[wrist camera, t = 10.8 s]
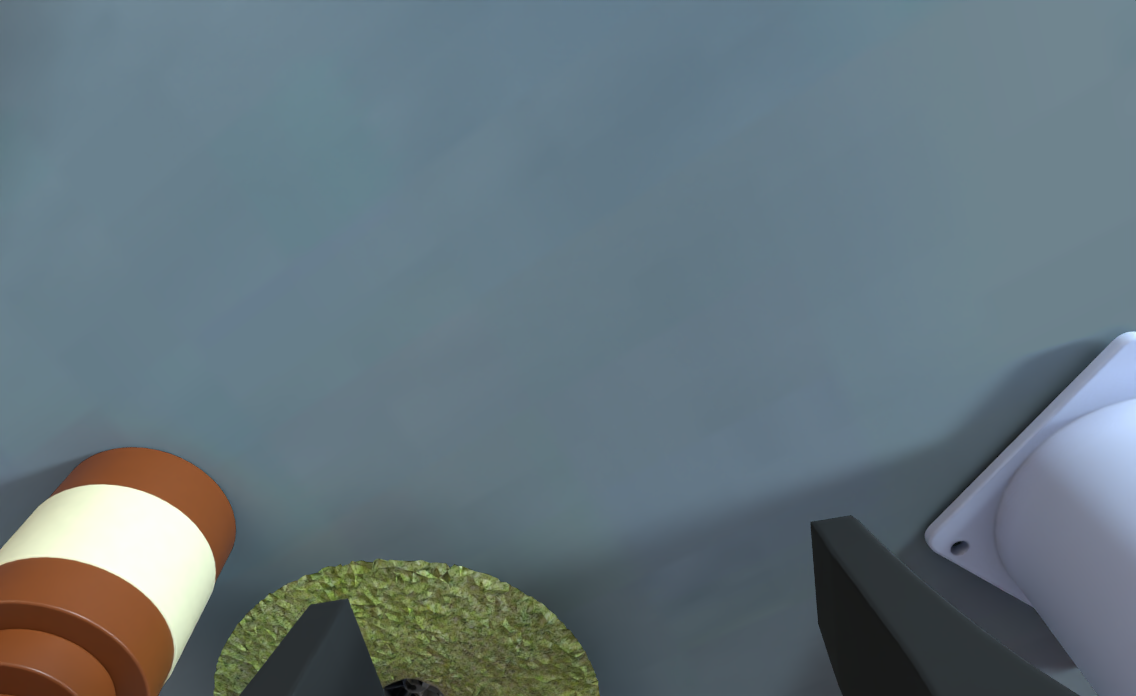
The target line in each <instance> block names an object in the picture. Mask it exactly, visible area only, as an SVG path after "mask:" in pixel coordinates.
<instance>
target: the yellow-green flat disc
mask: <svg viewBox="0 0 1136 696" xmlns="http://www.w3.org/2000/svg"><path fill="white" fill-rule="evenodd" d="M347 598H348V600H349V603H350V605H351V608H352V610H353V613H354V615H355V618H356V621H357V623H358V626H359V628H360V631H361V633H362V636H363V639H364V641H365V644H366V646H367V649H368V651H369V654H370V657H371V659H372V662H373V664H374V667H375V670H376V672H377V675H378V677H379V680H380V682H381V685H382V688H383V690H384V696H600V695H599V687H598V680H597V679H596V674H595V673H594V669H593V667H592V665H591V662H590V661H589V660H588V657H587V655H586V652H585V651H584V649H583V648H582V647H581V645H580V643H578V640H577V639H576V638H575V637H574V635H573V634H572V632H571V631H570V630H568V629H566V627H565V625H564V623H563V622H561V621H560V620H559V619H557V616H556V615H555V614H553V613H552V612H551V611H550V610H549V609H548V608H547V607H546V606H545V605H543V604H542V603H540V602H538V601H536V600H535V599H534V598H533V597H530V596H527V595H525V594H524V593H523V592H521V591H520V590H519V589H518V588H515V587H512V586H511V585H510V584H508V583H506V582H500V581H499V579H498V578H495V577H493V576H491V575H489V574H484V573H480V572H475V571H472V570H470V569H468V568H465V567H463V566H457V565H455V564H454V565H453V566H452V567H451V568H449V566H448V565H447V564H446V563H428V562H425V561H423V560H419V561H397V560H389V561H386V560H382V559H376V560H375V561H374V562H365V561H357V562H354V561H351V563H350V564H348V565H345V566H342V565H341V564H340V565H338V566H336V567H329V566H328V567H326V568H323V569H321V570H320V571H319V572H318V573H315V574H311V575H305V576H303V577H301V578H300V579H299V580H298V581H294V582H291V583H288V584H286V585H285V586H283V587H281V588H280V589H278V590H277V591H275V592H274V593H273V594H271V593H269V594H268V596H267V597H266V599H264V600H261V601H260V602H259V603H258V604H257V605H256V606H255V607H254V608H253V609H252V610H250V611H249V612H248V613H247V614H246V615H245V617H244V618H243V619H242V620H241V622H240V623H238V624H237V626H236V628H235V629H234V631H233V632H232V634H231V636H230V637H229V639H228V640H227V642H226V644H225V646H224V648H223V650H222V652H221V655H220V657H219V659H218V664H217V665H216V672H215V675H214V680H215V683H214V684H215V689H214V696H239V695H240V694H241V692H242V691H243V690H244V689H245V687H246V686H247V685H248V684H249V682H250V681H251V680H252V679H253V677H254V676H255V675H256V674H257V672H258V671H259V670H260V668H261V667H262V666H263V665H264V663H265V662H266V661H267V659H268V658H269V657H270V655H271V654H272V653H273V652H274V650H275V649H276V648H277V646H278V645H279V644H280V642H281V641H282V640H283V639H284V637H285V636H286V635H287V633H288V632H289V631H290V629H291V628H292V627H293V626H294V624H295V623H296V622H297V620H298V619H299V618H300V617H301V615H302V614H303V613H304V612H305V610H306V609H307V608H308V607H309V605H311V604H317V603H323V602H329V601H335V600H341V599H347Z"/></svg>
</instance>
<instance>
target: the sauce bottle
mask: <svg viewBox="0 0 1136 696" xmlns="http://www.w3.org/2000/svg"><path fill="white" fill-rule="evenodd" d="M235 534H236V525H235V518H234V514H233V510H232V508H231V505H230V503H229V501H228V499H227V498H226V496H225V494H224V493H223V491H222V490H221V489H220V487H219V486H218V485H217V484H216V483H215V482H214V481H213V480H212V479H211V478H210V477H209V476H208V475H207V474H206V473H204V472H203V471H202V470H201V469H199V468H198V467H196V466H195V465H193V464H191V463H189V462H188V461H186V460H184V459H182V458H180V457H177V456H175V455H172V454H169V453H166V452H162V451H159V450H154V449H148V448H137V447H128V448H118V449H111V450H108V451H104V452H101V453H98V454H96V455H94V456H91V457H89V458H88V459H86V460H85V461H83V462H82V463H80V464H79V465H78V466H77V467H76V468H75V469H74V470H73V471H72V472H71V473H70V474H69V475H68V477H67V478H66V479H65V480H64V481H63V482H62V483H61V485H60V486H59V487H58V488H57V489H56V490H55V491H54V492H53V494H52V495H51V496H50V497H49V498H48V499H47V500H46V501H44V502H43V503H42V504H41V505H40V506H39V507H38V508H37V509H36V510H35V511H34V512H33V513H32V514H31V515H30V517H29V518H28V519H27V520H26V521H25V522H24V523H23V525H22V526H21V527H20V528H19V529H18V530H17V531H16V532H15V534H14V535H13V536H12V537H11V538H10V539H9V540H8V542H7V543H6V544H5V545H4V546H3V547H2V548H1V549H0V696H158V695H159V693H160V691H161V689H162V687H163V685H164V684H165V683H166V681H167V680H168V678H169V677H170V676H171V674H172V672H173V670H174V668H175V666H176V664H177V662H178V660H179V658H180V656H181V654H182V652H183V650H184V648H185V646H186V644H187V642H188V640H189V638H190V636H191V634H192V632H193V630H194V628H195V626H196V624H197V622H198V620H199V618H200V616H201V614H202V612H203V610H204V608H205V606H206V604H207V602H208V600H209V598H210V596H211V594H212V592H213V588H214V585H215V582H216V580H217V578H218V576H219V574H220V572H221V570H222V568H223V566H224V564H225V562H226V560H227V558H228V556H229V554H230V552H231V550H232V548H233V545H234V541H235Z"/></svg>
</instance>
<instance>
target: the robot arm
mask: <svg viewBox="0 0 1136 696" xmlns="http://www.w3.org/2000/svg"><path fill="white" fill-rule="evenodd" d="M811 535H812V548H813V561H814V574H815V588H816V601H817V614H818V624H819V628H820V631H821V634H822V637H823V640H824V643H825V646H826V649H827V652H828V655H829V658H830V661H831V664H832V667H833V670H834V673H835V676H836V679H837V682H838V685H839V688H840V690H841V692H842V694H843V696H1079V695H1078V694H1076V693H1074V692H1073V691H1071V690H1070V689H1068V688H1066V687H1065V686H1063V685H1062V684H1060V683H1059V682H1057V681H1056V680H1054V679H1053V678H1051V677H1049V676H1048V675H1046V674H1045V673H1043V672H1042V671H1040V670H1039V669H1037V668H1036V667H1034V666H1033V665H1031V664H1030V663H1029V662H1027V661H1026V660H1024V659H1023V658H1021V657H1020V656H1019V655H1017V654H1016V653H1014V652H1013V651H1012V650H1010V649H1009V648H1007V647H1006V646H1005V645H1003V644H1002V643H1001V642H999V641H998V640H997V639H995V638H994V637H993V636H991V635H990V634H989V633H987V632H986V631H985V630H983V629H982V628H981V627H979V626H978V625H977V624H975V623H974V622H973V621H972V620H970V619H969V618H968V617H966V616H965V615H964V614H963V613H961V612H960V611H959V610H958V609H956V608H955V607H954V606H953V605H952V604H950V603H949V602H948V601H947V600H946V599H944V598H943V597H942V596H941V595H940V594H938V593H937V592H936V591H935V590H934V589H932V588H931V587H930V586H929V585H928V584H926V583H925V582H924V581H923V580H922V579H921V578H920V577H918V576H917V575H916V574H915V573H914V572H913V571H912V570H911V569H909V568H908V567H907V566H906V565H905V564H904V563H903V562H902V561H901V560H900V559H898V558H897V557H896V556H895V555H894V554H893V553H892V552H891V551H890V550H889V549H888V548H887V547H885V546H884V545H883V544H882V543H881V542H880V541H879V540H878V539H877V538H876V537H875V536H874V535H873V534H872V533H871V532H870V531H869V530H868V529H867V528H866V527H865V526H864V525H863V524H862V523H861V522H860V521H859V520H857V519H856V518H854V517H853V516H851V515H850V516H844V517H838V518H832V519H826V520H820V521H814V522H811ZM925 540H926V542H927V544H928V545H929V547H930V548H931V549H932V550H933V551H934V552H935V553H937V554H939V555H941V556H943V557H944V558H946V559H948V560H950V561H951V562H953V563H955V564H957V565H959V566H960V567H962V568H964V569H966V570H967V571H969V572H971V573H973V574H975V575H976V576H978V577H980V578H982V579H983V580H985V581H987V582H989V583H991V584H992V585H994V586H996V587H998V588H999V589H1001V590H1003V591H1005V592H1007V593H1008V594H1010V595H1012V596H1014V597H1015V598H1017V599H1019V600H1021V601H1023V602H1024V603H1026V604H1028V605H1030V606H1031V607H1033V608H1035V610H1036V611H1037V613H1038V614H1039V615H1040V617H1041V618H1042V619H1043V621H1044V622H1045V623H1046V625H1047V626H1048V628H1049V629H1050V630H1051V632H1052V633H1053V634H1054V636H1055V637H1056V639H1057V640H1058V641H1059V643H1060V644H1061V645H1062V647H1063V648H1064V649H1065V651H1066V652H1067V654H1068V655H1069V656H1070V658H1071V659H1072V660H1073V662H1074V663H1075V665H1076V666H1077V667H1078V669H1079V670H1080V671H1081V673H1082V674H1083V675H1084V677H1085V678H1086V680H1087V681H1088V682H1089V684H1090V685H1091V686H1092V688H1093V689H1094V691H1095V692H1096V693H1097V695H1098V696H1136V332H1126V333H1124V334H1121V335H1119V336H1118V337H1117V338H1115V339H1114V340H1113V341H1112V342H1111V343H1110V344H1109V345H1108V346H1107V347H1106V348H1105V349H1104V350H1103V351H1102V352H1101V353H1100V354H1099V355H1098V356H1097V357H1096V358H1095V359H1094V360H1093V361H1092V362H1091V363H1090V364H1089V365H1088V366H1087V367H1086V368H1085V369H1084V370H1083V371H1082V372H1081V373H1080V374H1079V375H1078V376H1077V377H1076V378H1075V379H1074V380H1073V381H1072V382H1071V383H1070V384H1069V385H1068V386H1067V387H1066V388H1065V389H1064V390H1063V391H1062V392H1061V393H1060V394H1059V396H1058V397H1057V398H1056V399H1055V400H1054V401H1053V402H1052V403H1051V404H1050V405H1049V406H1048V407H1047V408H1046V409H1045V410H1044V411H1043V412H1042V413H1041V414H1040V415H1039V416H1038V417H1037V418H1036V419H1035V420H1034V421H1033V422H1032V423H1031V424H1030V425H1029V426H1028V427H1027V428H1026V429H1025V430H1024V431H1023V432H1022V433H1021V434H1020V435H1019V436H1018V437H1017V438H1016V439H1015V440H1014V441H1013V442H1012V443H1011V444H1010V445H1009V446H1008V447H1007V448H1006V449H1005V450H1004V451H1003V452H1002V453H1001V454H1000V455H999V456H998V457H997V458H996V459H995V460H994V461H993V462H992V463H991V464H990V465H989V466H988V467H987V468H986V469H985V470H984V471H983V472H982V473H981V474H980V475H979V476H978V477H977V478H976V479H975V480H974V481H973V482H972V483H971V484H970V485H969V486H968V487H967V488H966V489H965V490H964V491H963V492H962V493H961V495H960V496H959V497H958V498H957V499H956V500H955V501H954V502H953V503H952V504H951V505H950V506H949V507H948V508H947V509H946V510H945V511H944V512H943V513H942V514H941V515H940V516H939V517H938V518H937V519H936V520H935V521H934V522H933V523H932V524H931V525H930V526H929V527H928V529H927V530H926V532H925ZM958 541H962V542H961V543H960V544H959V545H957V546H953V547H952V545H953V544H954V543H956V542H958ZM239 696H384V690H383V688H382V685H381V682H380V680H379V677H378V675H377V672H376V670H375V667H374V664H373V662H372V659H371V657H370V654H369V651H368V649H367V646H366V644H365V641H364V639H363V636H362V633H361V631H360V628H359V626H358V623H357V621H356V618H355V615H354V613H353V610H352V608H351V605H350V603H349V600H348V598H347V599H341V600H335V601H329V602H323V603H317V604H311V605H309V607H308V608H307V609H306V610H305V612H304V613H303V614H302V615H301V617H300V618H299V619H298V620H297V622H296V623H295V624H294V626H293V627H292V628H291V629H290V631H289V632H288V633H287V635H286V636H285V637H284V639H283V640H282V641H281V642H280V644H279V645H278V646H277V648H276V649H275V650H274V652H273V653H272V654H271V655H270V657H269V658H268V659H267V661H266V662H265V663H264V665H263V666H262V667H261V668H260V670H259V671H258V672H257V674H256V675H255V676H254V677H253V679H252V680H251V681H250V682H249V684H248V685H247V686H246V687H245V689H244V690H243V691H242V692H241V694H240V695H239Z"/></svg>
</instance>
